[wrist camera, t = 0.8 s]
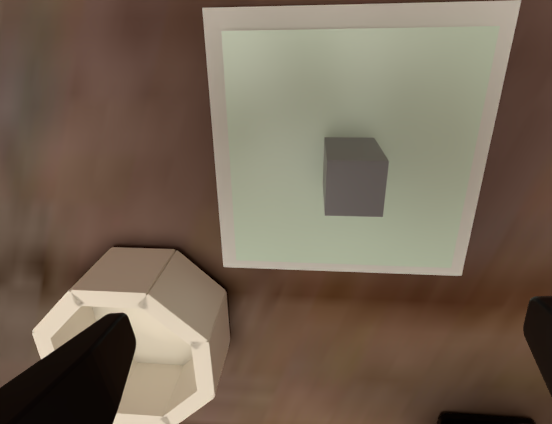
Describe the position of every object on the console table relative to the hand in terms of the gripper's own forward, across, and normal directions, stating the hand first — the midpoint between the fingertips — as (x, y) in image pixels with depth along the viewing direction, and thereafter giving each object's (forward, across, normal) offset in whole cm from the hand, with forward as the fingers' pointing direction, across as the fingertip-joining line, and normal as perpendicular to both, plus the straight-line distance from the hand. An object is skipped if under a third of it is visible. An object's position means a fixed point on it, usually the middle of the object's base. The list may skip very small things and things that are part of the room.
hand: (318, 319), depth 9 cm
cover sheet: (+13, -2, 0) cm, 13 cm away
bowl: (+13, +11, +10) cm, 20 cm away
